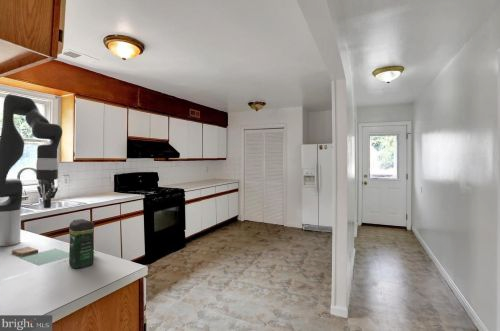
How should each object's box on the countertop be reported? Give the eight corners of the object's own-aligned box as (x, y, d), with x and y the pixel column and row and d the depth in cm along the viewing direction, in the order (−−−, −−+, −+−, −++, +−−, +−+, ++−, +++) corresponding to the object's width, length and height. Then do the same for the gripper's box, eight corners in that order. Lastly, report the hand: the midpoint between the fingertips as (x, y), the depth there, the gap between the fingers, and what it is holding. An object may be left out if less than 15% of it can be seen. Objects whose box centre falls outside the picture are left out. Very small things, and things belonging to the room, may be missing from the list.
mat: (18, 259, 114) (18, 257, 114) (55, 249, 126) (55, 248, 126) (38, 267, 106) (38, 265, 106) (75, 256, 118) (75, 254, 118)
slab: (22, 259, 115) (12, 255, 119) (38, 254, 120) (27, 251, 124) (22, 253, 115) (11, 250, 119) (38, 249, 120) (27, 246, 124)
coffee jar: (96, 264, 109) (97, 220, 109) (74, 270, 103) (75, 223, 103) (87, 259, 115) (87, 216, 115) (66, 264, 109) (66, 219, 109)
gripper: (29, 168, 115) (29, 207, 116) (45, 169, 109) (45, 210, 109) (49, 168, 122) (49, 205, 122) (64, 168, 116) (64, 208, 116)
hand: (47, 207), depth 116 cm, fingers closed
